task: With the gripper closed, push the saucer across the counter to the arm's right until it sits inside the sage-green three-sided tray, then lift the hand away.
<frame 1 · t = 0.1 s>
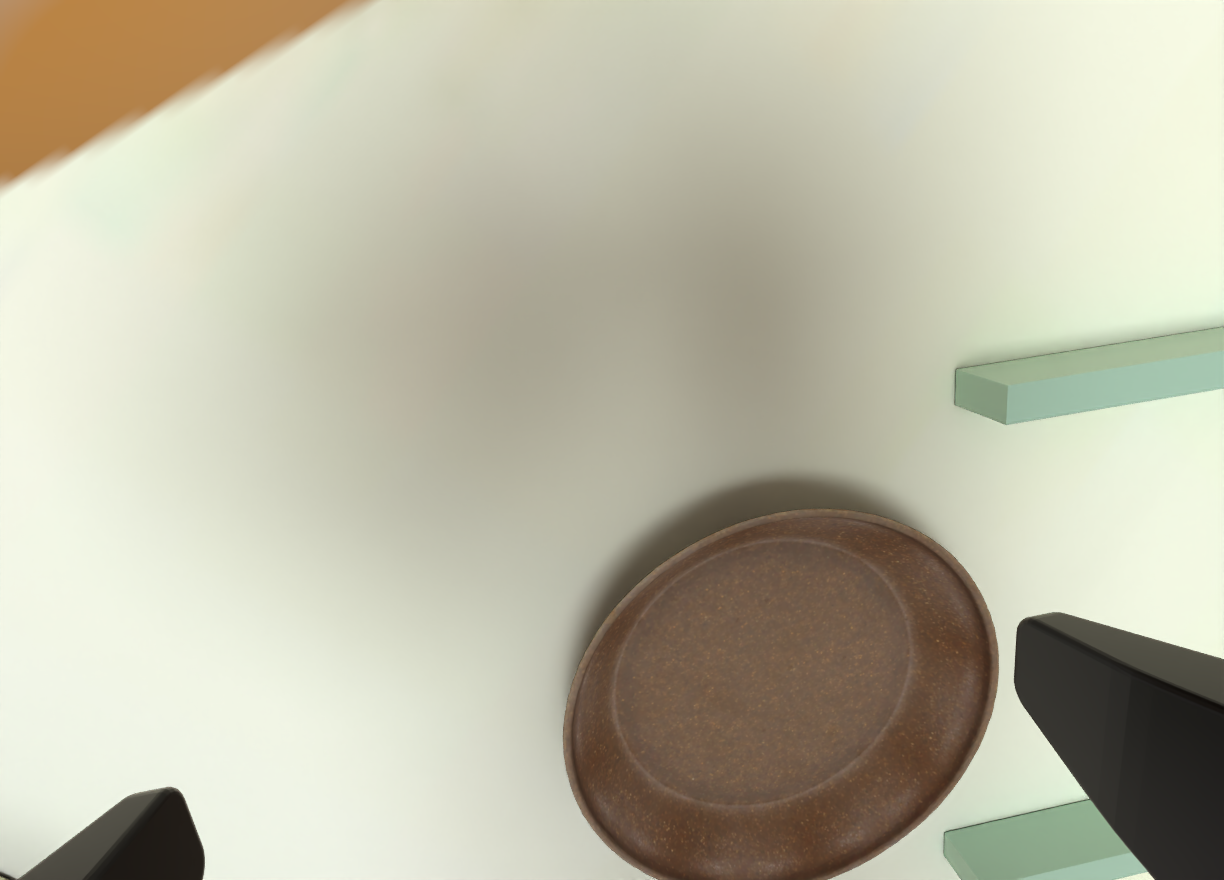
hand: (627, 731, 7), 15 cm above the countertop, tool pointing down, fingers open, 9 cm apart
saucer: (760, 669, 26), on the countertop
tray: (1195, 592, 27), on the countertop
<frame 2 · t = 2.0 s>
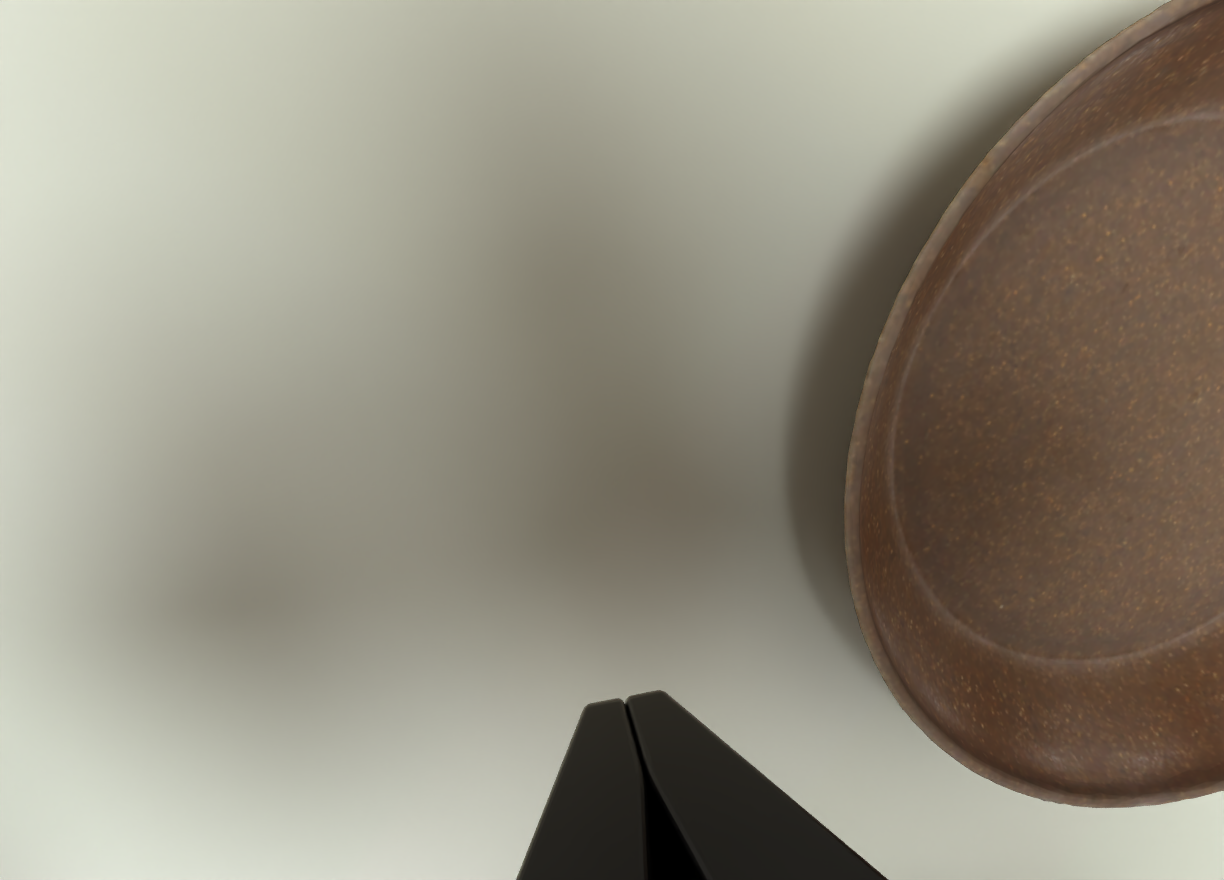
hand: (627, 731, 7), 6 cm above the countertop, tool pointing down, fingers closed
saucer: (1124, 411, 15), on the countertop
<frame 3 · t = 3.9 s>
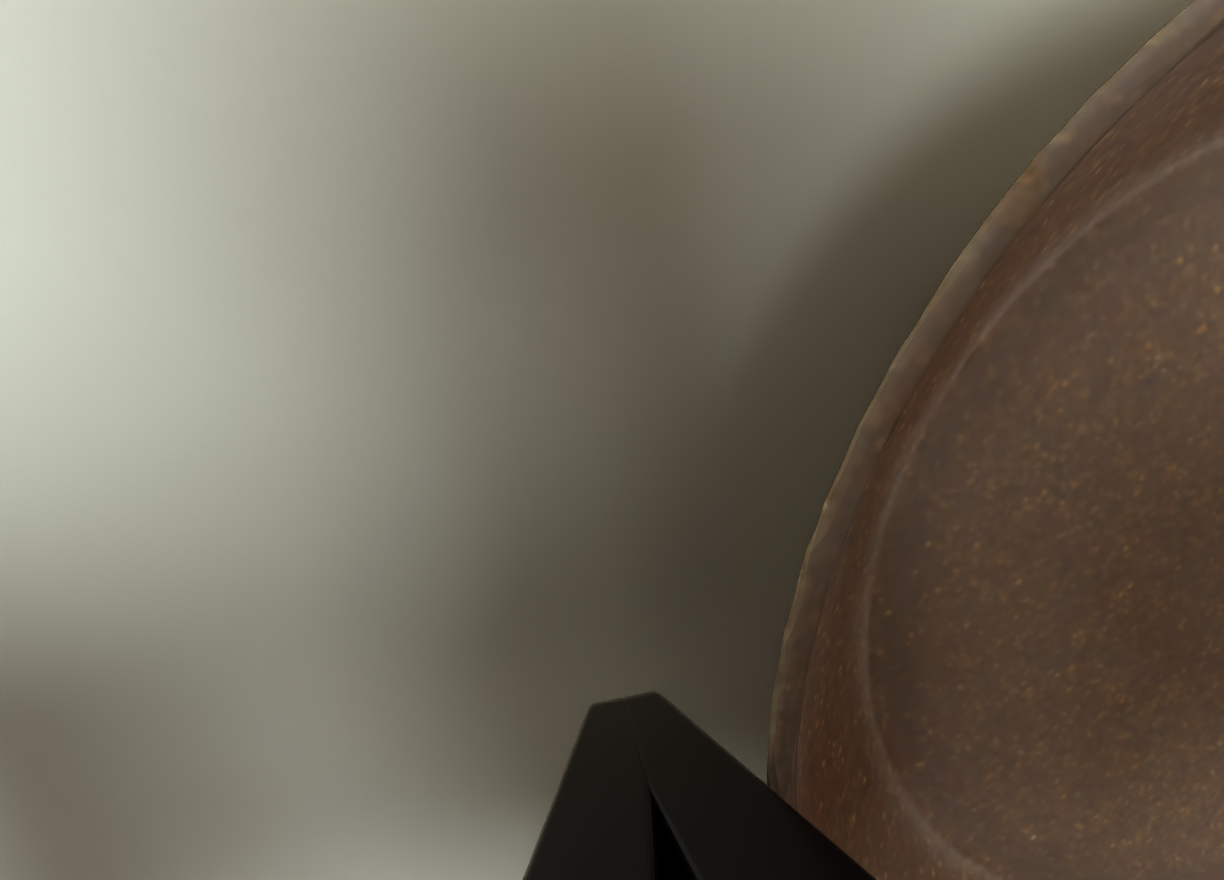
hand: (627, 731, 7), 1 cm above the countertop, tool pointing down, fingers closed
saucer: (1220, 547, 10), on the countertop, touching gripper
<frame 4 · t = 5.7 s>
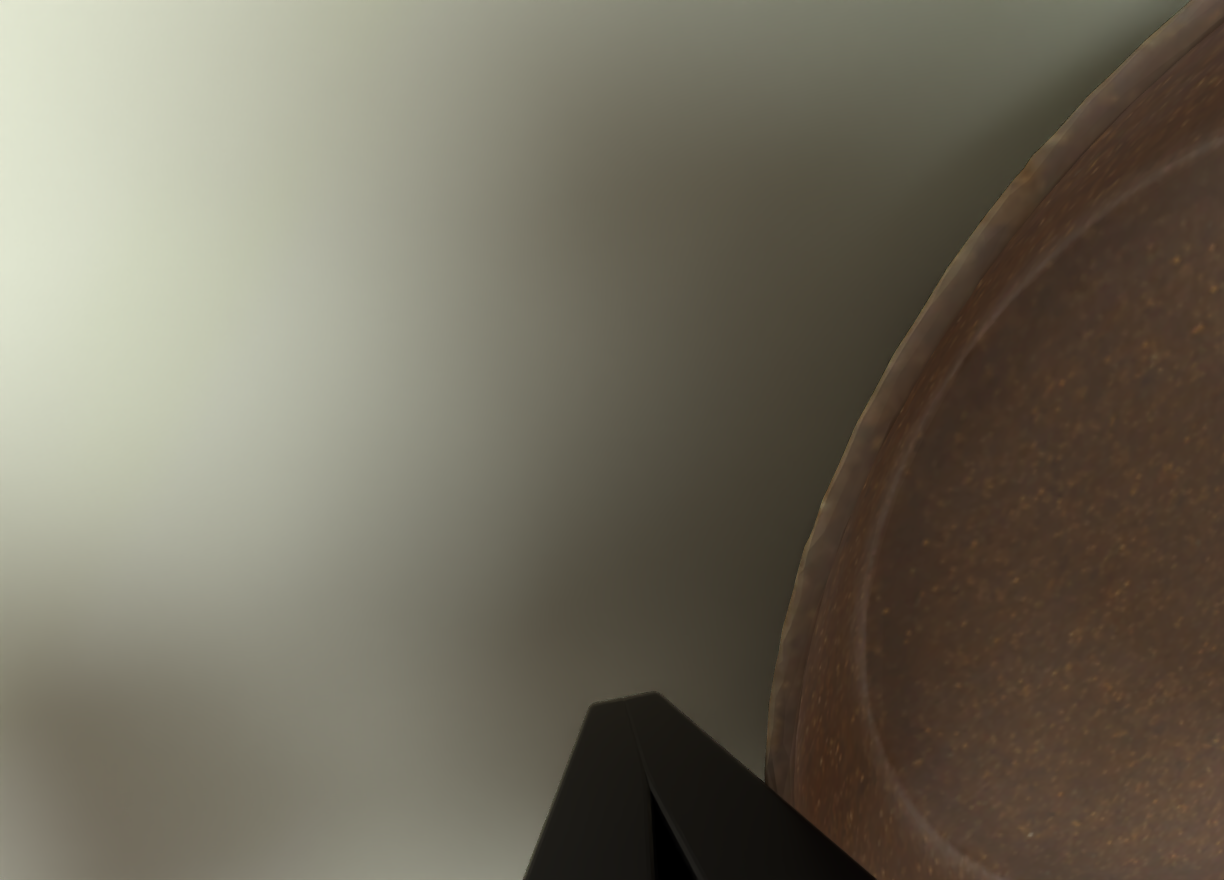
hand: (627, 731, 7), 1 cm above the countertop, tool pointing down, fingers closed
saucer: (1216, 545, 10), on the countertop, touching gripper
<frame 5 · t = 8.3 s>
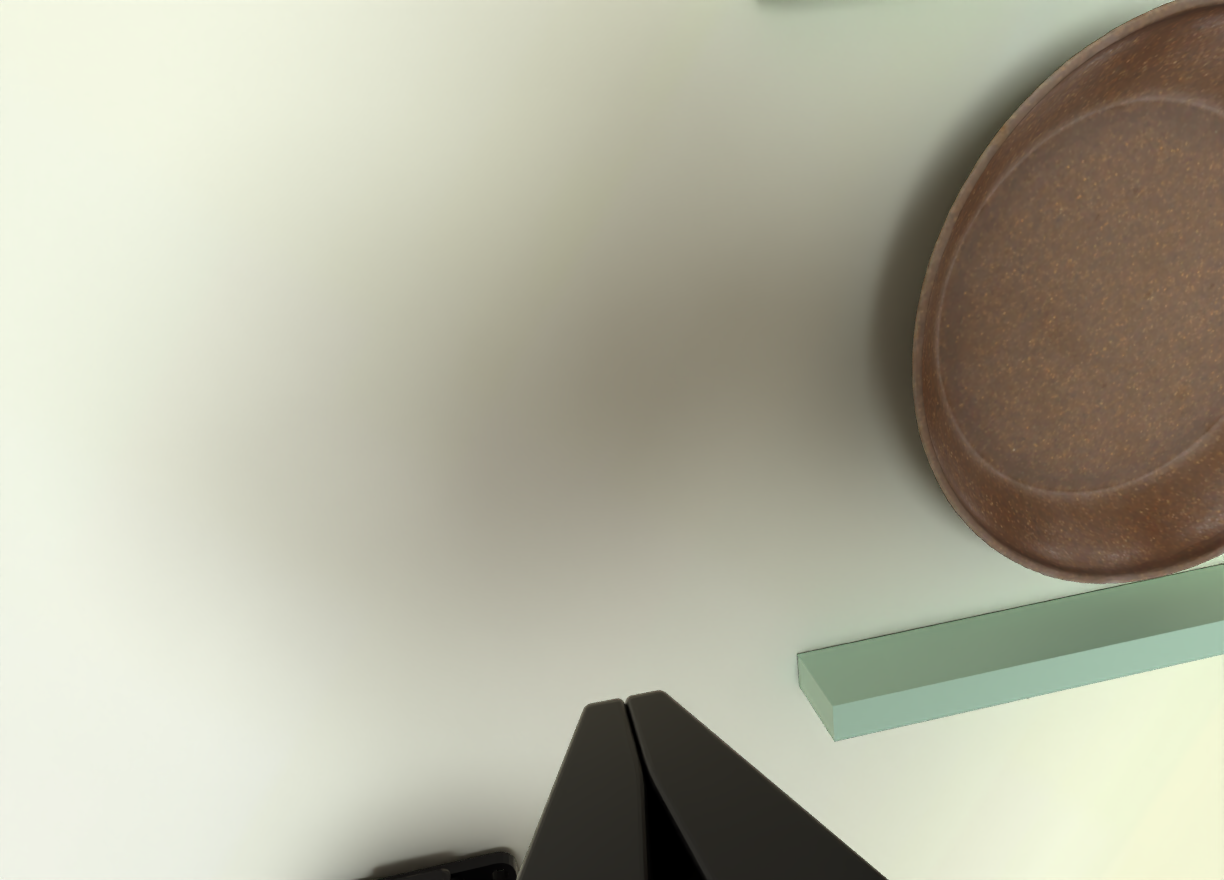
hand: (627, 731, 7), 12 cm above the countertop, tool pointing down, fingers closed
saucer: (1099, 309, 20), on the countertop
tray: (1115, 313, 20), on the countertop
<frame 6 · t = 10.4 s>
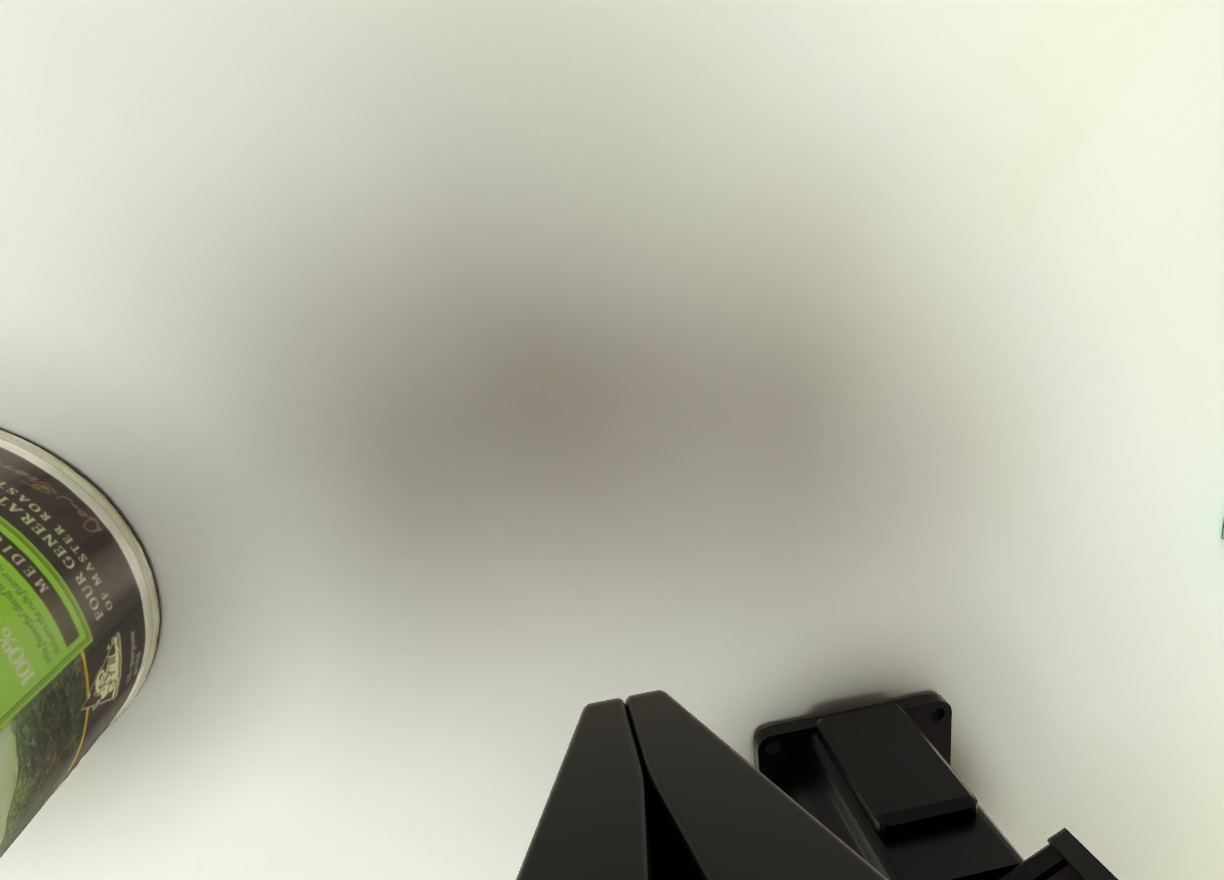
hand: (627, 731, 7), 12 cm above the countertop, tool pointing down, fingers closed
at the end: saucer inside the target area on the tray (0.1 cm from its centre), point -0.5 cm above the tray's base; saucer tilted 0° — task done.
